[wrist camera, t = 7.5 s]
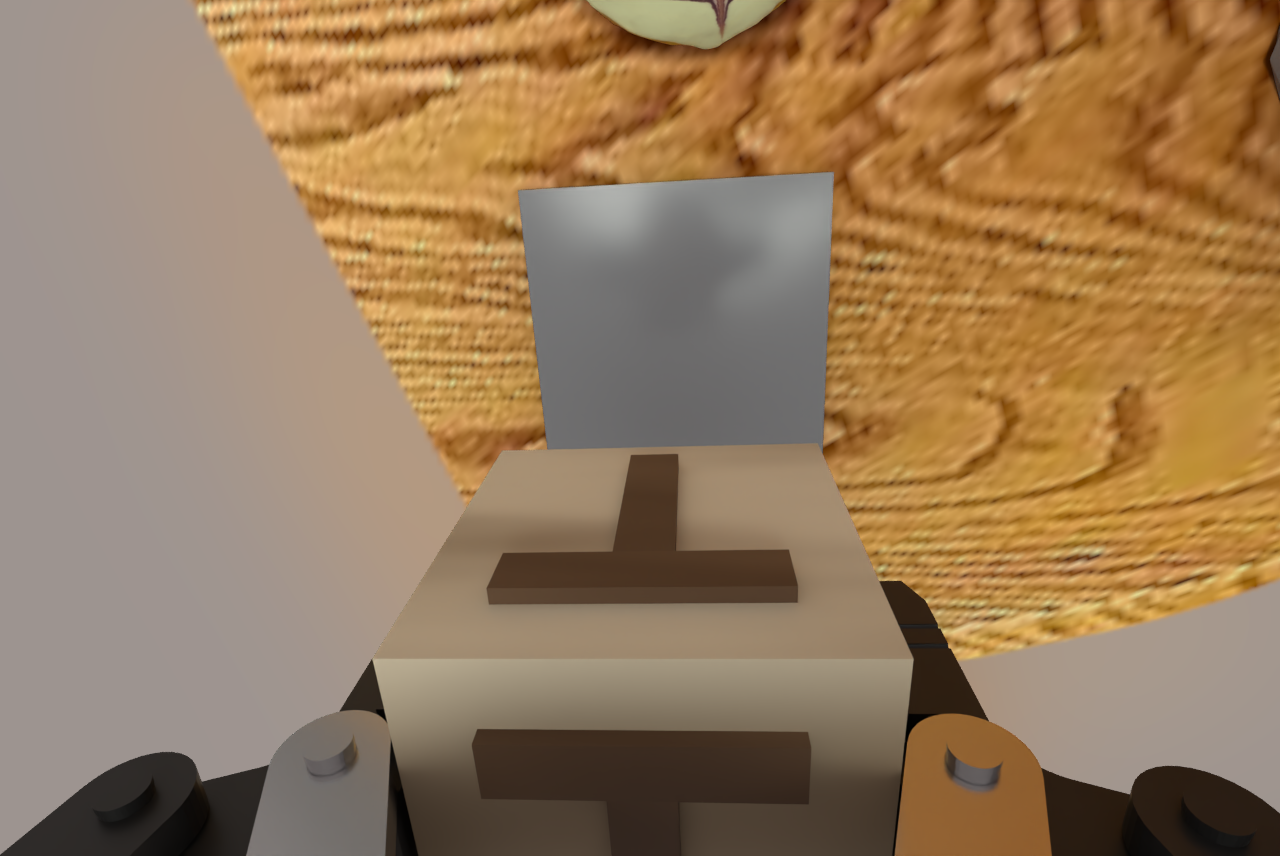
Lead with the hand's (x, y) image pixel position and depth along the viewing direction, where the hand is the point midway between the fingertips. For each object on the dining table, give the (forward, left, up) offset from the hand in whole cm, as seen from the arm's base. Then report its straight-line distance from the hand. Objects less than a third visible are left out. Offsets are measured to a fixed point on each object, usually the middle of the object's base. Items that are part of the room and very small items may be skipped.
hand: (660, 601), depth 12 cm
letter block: (0, 0, -1) cm, 1 cm away
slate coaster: (0, 0, -19) cm, 19 cm away
